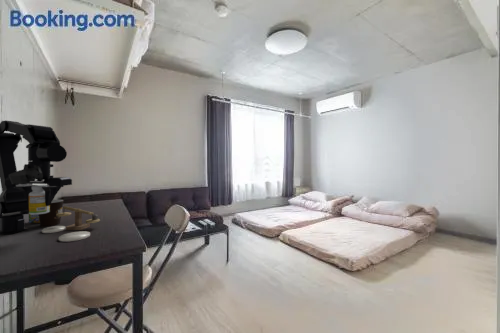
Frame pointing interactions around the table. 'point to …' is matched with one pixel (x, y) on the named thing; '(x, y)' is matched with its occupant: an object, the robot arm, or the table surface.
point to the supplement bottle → (38, 201)
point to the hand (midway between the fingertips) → (39, 205)
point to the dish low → (74, 236)
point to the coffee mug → (52, 214)
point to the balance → (78, 218)
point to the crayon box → (34, 218)
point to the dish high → (53, 229)
